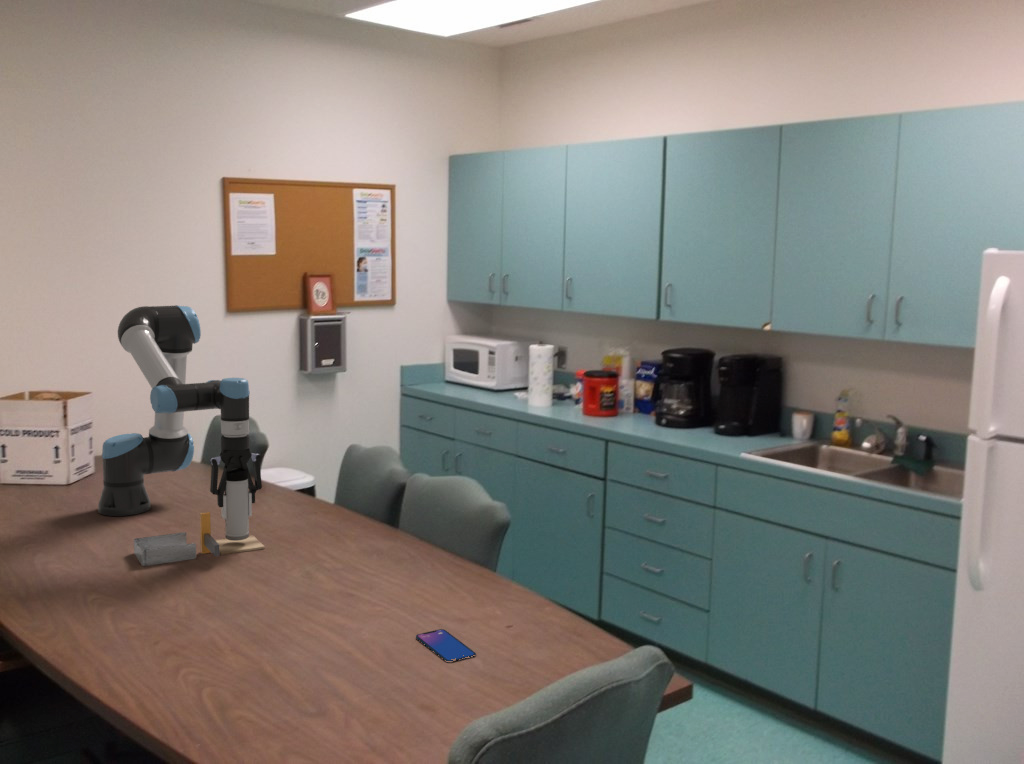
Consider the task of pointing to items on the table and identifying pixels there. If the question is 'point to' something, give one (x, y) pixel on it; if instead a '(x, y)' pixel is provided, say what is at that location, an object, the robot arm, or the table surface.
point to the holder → (164, 549)
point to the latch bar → (207, 536)
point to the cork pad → (239, 545)
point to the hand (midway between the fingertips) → (236, 516)
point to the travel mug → (237, 505)
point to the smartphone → (445, 645)
